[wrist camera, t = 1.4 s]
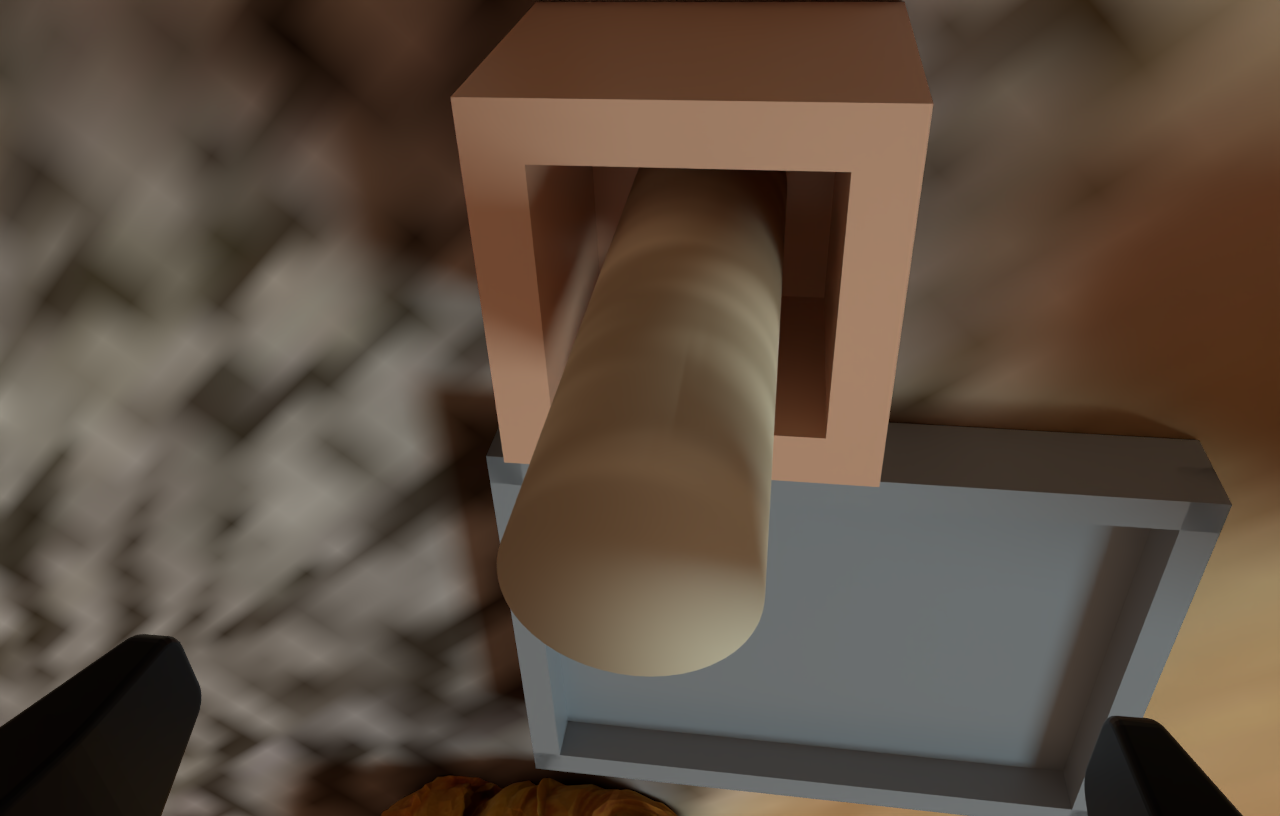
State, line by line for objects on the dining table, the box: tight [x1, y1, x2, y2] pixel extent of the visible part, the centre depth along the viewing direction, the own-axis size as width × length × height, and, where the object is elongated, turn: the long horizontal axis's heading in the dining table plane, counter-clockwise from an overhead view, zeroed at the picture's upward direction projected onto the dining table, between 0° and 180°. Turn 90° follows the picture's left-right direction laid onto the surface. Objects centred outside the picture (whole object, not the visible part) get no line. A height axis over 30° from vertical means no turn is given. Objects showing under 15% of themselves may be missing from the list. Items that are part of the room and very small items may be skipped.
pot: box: [450, 2, 933, 487], centre depth 18 cm, size 7×7×6 cm
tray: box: [486, 423, 1232, 816], centre depth 26 cm, size 16×12×2 cm
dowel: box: [496, 167, 787, 677], centre depth 15 cm, size 3×3×11 cm
